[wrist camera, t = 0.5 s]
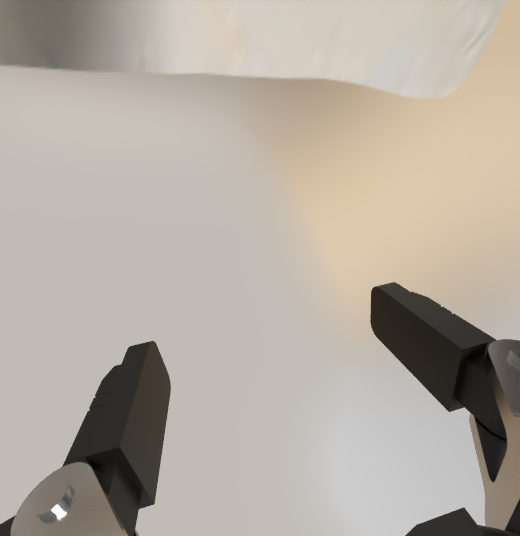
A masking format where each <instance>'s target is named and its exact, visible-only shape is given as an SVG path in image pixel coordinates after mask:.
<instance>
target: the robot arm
mask: <svg viewBox="0 0 520 536" xmlns="http://www.w3.org/2000/svg"><path fill="white" fill-rule="evenodd" d="M371 327H372V329H373V332H374V334H375V335H376V337H377V338H378V339H379V340H380V341H381V342H382V343H383V344H384V345H385V346H386V347H387V348H388V349H389V350H390V351H391V352H392V353H393V354H394V356H395V357H396V358H397V359H398V360H399V361H400V362H401V363H402V364H403V365H404V366H405V367H406V368H407V369H408V370H409V371H410V372H411V373H412V374H413V375H414V376H415V377H416V378H417V379H418V380H419V381H420V382H421V383H422V385H423V386H424V387H425V388H426V389H427V390H428V391H429V392H430V393H431V394H432V395H433V396H434V397H435V398H436V399H437V400H438V401H439V402H440V403H441V404H442V405H443V406H444V407H445V408H446V409H447V410H448V411H449V412H451V411H454V410H457V409H460V408H463V407H465V408H466V409H467V410H468V411H469V412H470V413H471V414H470V418H469V421H470V426H471V430H472V435H473V440H474V444H475V449H476V453H477V458H478V462H479V466H480V471H481V475H482V479H483V484H484V490H485V524H486V526H480V525H477V524H476V523H475V521H474V520H473V519H472V517H471V516H470V515H469V513H468V512H467V511H466V509H465V508H461V509H459V510H456V511H453V512H450V513H448V514H445V515H442V516H440V517H437V518H434V519H432V520H429V521H426V522H424V523H421V524H418V525H416V526H415V527H414V528H413V529H412V530H411V531H410V532H409V533H408V534H407V535H406V536H520V341H519V340H510V339H502V340H496V339H494V338H492V337H491V336H489V335H488V334H486V333H484V332H483V331H481V330H480V329H478V328H476V327H475V326H473V325H471V324H470V323H468V322H467V321H465V320H463V319H462V318H460V317H459V316H457V315H455V314H452V313H451V312H450V311H449V310H447V309H446V308H444V307H441V306H440V305H439V304H438V303H436V302H435V301H433V300H431V299H429V298H428V297H425V296H422V295H420V294H417V293H414V292H409V291H408V290H406V289H405V288H403V287H402V286H400V285H399V284H397V283H395V282H393V283H389V284H384V285H380V286H377V287H374V288H373V289H372V291H371ZM170 390H171V387H170V379H169V375H168V372H167V370H166V367H165V364H164V362H163V359H162V357H161V355H160V352H159V350H158V347H157V345H156V343H155V342H154V341H151V342H146V343H142V344H138V345H134V346H130V347H129V348H128V350H127V352H126V354H125V357H124V359H123V362H122V364H121V365H117V366H114V367H113V368H112V370H111V371H110V372H109V373H108V374H107V375H106V376H105V378H104V379H103V380H102V382H101V384H100V386H99V388H98V391H97V393H96V395H95V396H96V397H95V398H94V399H93V401H92V403H91V406H90V411H88V412H87V414H86V416H85V419H84V421H83V423H82V425H81V427H80V430H79V432H78V434H77V436H76V438H75V440H74V443H73V445H72V447H71V449H70V451H69V453H68V456H67V458H66V460H65V462H64V464H63V467H61V468H60V469H58V470H56V471H54V472H53V473H52V474H50V475H49V476H47V477H46V478H45V479H44V480H43V481H42V482H40V483H39V484H38V485H37V486H36V488H34V489H33V491H32V492H31V493H30V494H29V495H28V497H27V498H26V499H25V501H24V502H23V503H22V505H21V507H20V508H19V510H18V512H17V514H16V515H15V516H14V517H12V518H10V519H9V520H7V521H5V522H4V523H2V524H0V536H139V534H138V532H137V531H136V530H135V526H136V520H137V516H138V510H139V509H140V508H144V507H146V506H150V505H153V504H154V502H155V496H156V489H157V482H158V475H159V468H160V461H161V455H162V448H163V441H164V433H165V426H166V420H167V413H168V406H169V398H170Z"/></svg>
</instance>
